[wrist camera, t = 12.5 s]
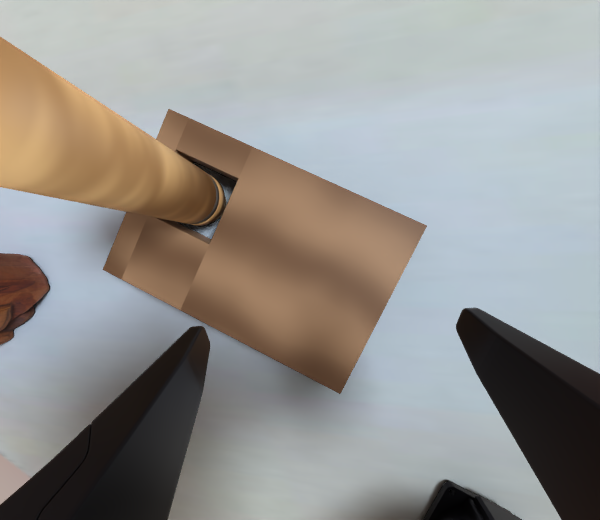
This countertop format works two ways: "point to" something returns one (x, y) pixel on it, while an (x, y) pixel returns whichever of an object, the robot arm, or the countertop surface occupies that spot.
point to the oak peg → (91, 150)
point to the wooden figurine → (18, 292)
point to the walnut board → (272, 257)
